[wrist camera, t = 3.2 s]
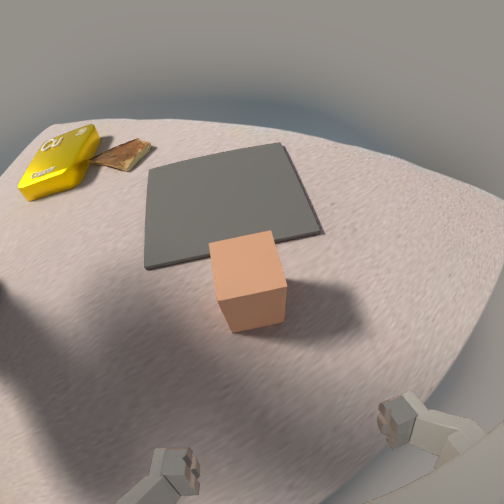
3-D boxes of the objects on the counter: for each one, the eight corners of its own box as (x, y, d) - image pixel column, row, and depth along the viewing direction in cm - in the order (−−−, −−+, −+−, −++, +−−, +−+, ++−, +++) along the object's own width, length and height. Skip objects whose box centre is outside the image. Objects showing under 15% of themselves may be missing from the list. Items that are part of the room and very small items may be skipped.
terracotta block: (232, 333, 26) (217, 301, 20) (224, 287, 29) (208, 243, 22) (283, 322, 27) (287, 286, 20) (272, 277, 29) (270, 230, 23)
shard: (91, 165, 44) (87, 158, 42) (118, 139, 47) (114, 132, 46) (128, 176, 41) (124, 167, 39) (157, 146, 44) (154, 138, 43)
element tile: (25, 204, 41) (12, 188, 37) (51, 155, 49) (42, 140, 45) (80, 188, 41) (68, 168, 37) (104, 137, 49) (95, 119, 45)
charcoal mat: (146, 269, 31) (144, 267, 30) (150, 172, 40) (148, 169, 39) (319, 233, 32) (320, 230, 31) (280, 145, 41) (280, 142, 40)
